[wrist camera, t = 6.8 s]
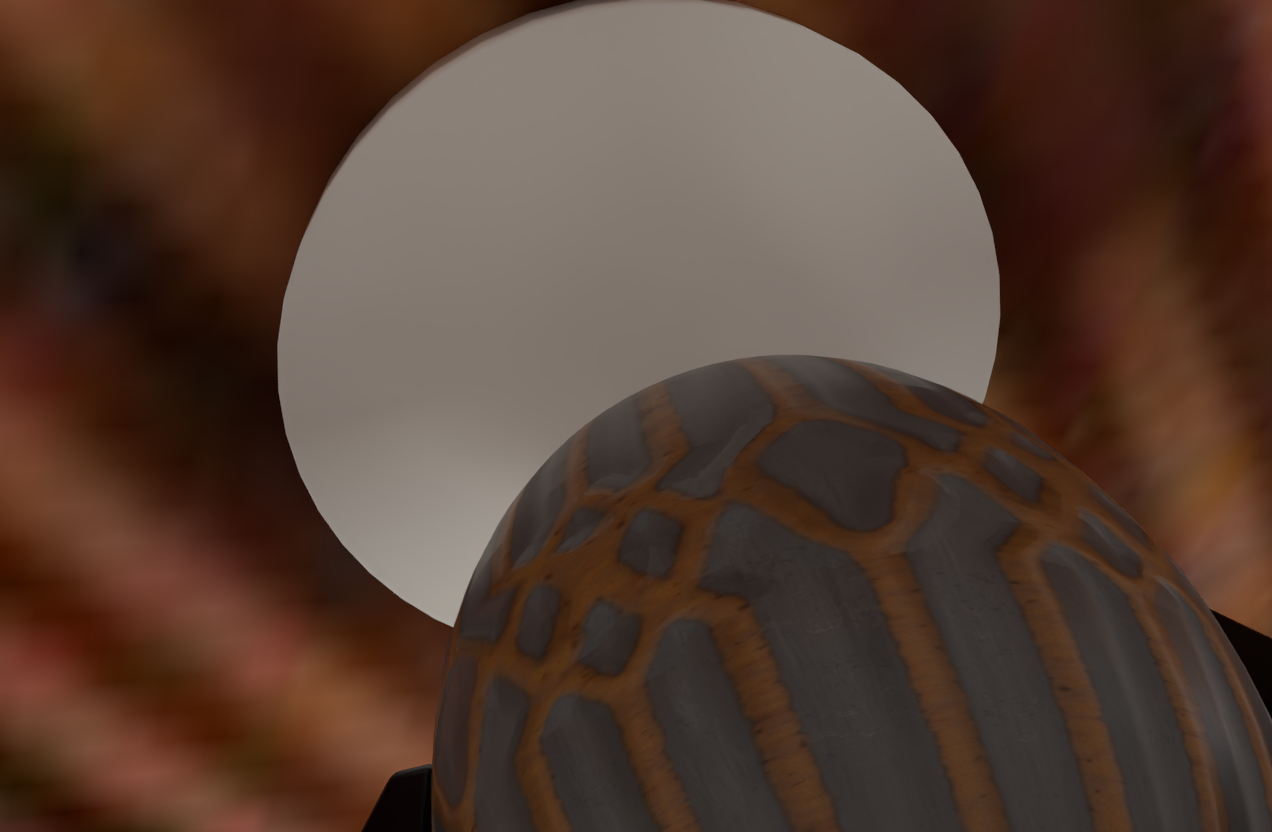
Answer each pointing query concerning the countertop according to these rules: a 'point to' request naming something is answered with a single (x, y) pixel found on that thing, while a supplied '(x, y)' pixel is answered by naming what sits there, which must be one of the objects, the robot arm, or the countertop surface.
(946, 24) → the countertop surface
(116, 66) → the countertop surface
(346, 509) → the dish low
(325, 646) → the countertop surface
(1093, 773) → the vase
